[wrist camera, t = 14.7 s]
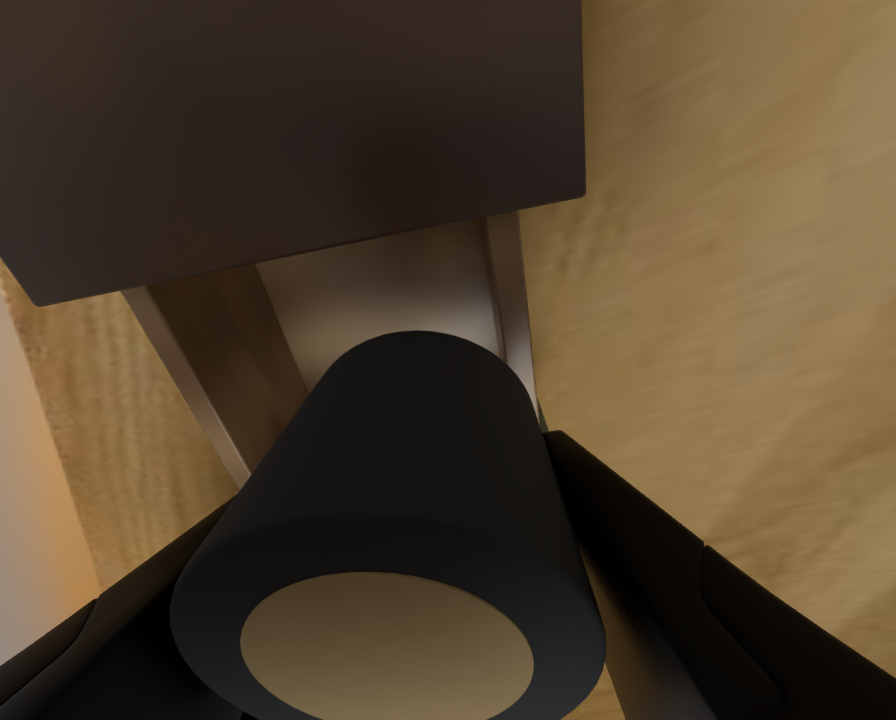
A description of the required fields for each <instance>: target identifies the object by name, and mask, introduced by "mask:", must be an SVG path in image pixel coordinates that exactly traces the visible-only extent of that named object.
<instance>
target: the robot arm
mask: <svg viewBox="0 0 896 720" xmlns="http://www.w3.org/2000/svg"><path fill="white" fill-rule="evenodd" d="M542 434H543V437H544V440H545V443H546V447H547V450H548V453H549V456H550V459H551V462H552V465H553V468H554V471H555V475H556V478H557V481H558V484H559V487H560V490H561V493H562V496H563V499H564V503H565V506H566V509H567V512H568V515H569V518H570V521H571V524H572V527H573V531H574V534H575V537H576V540H577V543H578V546H579V549H580V552H581V555H582V558H583V562H584V565H585V568H586V571H587V574H588V577H589V580H590V583H591V586H592V590H593V593H594V596H595V599H596V602H597V605H598V608H599V611H600V614H601V618H602V621H603V625H604V628H605V632H606V656H605V663H606V666H607V669H608V672H609V675H610V677H611V680H612V683H613V686H614V688H615V691H616V694H617V697H618V699H619V702H620V705H621V708H622V711H623V713H624V716H625V719H626V720H896V678H895V677H893V676H892V675H890V674H889V673H887V672H886V671H884V670H883V669H881V668H880V667H878V666H877V665H875V664H874V663H872V662H871V661H869V660H868V659H866V658H865V657H863V656H862V655H861V654H859V653H858V652H856V651H855V650H853V649H852V648H850V647H849V646H847V645H846V644H844V643H843V642H841V641H840V640H838V639H837V638H835V637H834V636H832V635H831V634H829V633H828V632H826V631H825V630H824V629H822V628H821V627H819V626H818V625H816V624H815V623H813V622H812V621H811V620H809V619H808V618H806V617H805V616H803V615H802V614H801V613H799V612H798V611H796V610H795V609H793V608H792V607H791V606H789V605H788V604H786V603H785V602H783V601H782V600H781V599H779V598H778V597H776V596H775V595H773V594H772V593H771V592H769V591H768V590H767V589H765V588H764V587H763V586H761V585H760V584H759V583H757V582H756V581H755V580H753V579H752V578H751V577H749V576H748V575H747V574H745V573H744V572H743V571H741V570H740V569H739V568H737V567H736V566H735V565H733V564H732V563H731V562H729V561H728V560H727V559H726V558H724V557H723V556H722V555H721V554H719V553H718V552H717V551H715V550H714V549H713V548H712V547H710V546H709V545H705V546H704V542H703V541H702V540H701V539H700V538H699V537H697V536H696V535H695V534H693V533H692V532H691V531H690V530H688V529H687V528H686V527H684V526H683V525H682V524H681V523H679V522H678V521H677V520H676V519H674V518H673V517H672V516H670V515H669V514H668V513H667V512H665V511H664V510H663V509H661V508H660V507H659V506H658V505H656V504H655V503H654V502H653V501H651V500H650V499H649V498H647V497H646V496H645V495H644V494H642V493H641V492H640V491H639V490H637V489H636V488H635V487H633V486H632V485H631V484H630V483H628V482H627V481H626V480H624V479H623V478H622V477H621V476H619V475H618V474H617V473H616V472H614V471H613V470H612V469H610V468H609V467H608V466H607V465H605V464H604V463H603V462H601V461H600V460H599V459H598V458H596V457H595V456H594V455H593V454H591V453H590V452H589V451H587V450H586V449H585V448H584V447H582V446H581V445H580V444H578V443H577V442H576V441H575V440H573V439H572V438H571V437H570V436H568V435H567V434H566V433H564V432H563V431H561V430H556V431H548V432H543V433H542ZM235 497H236V495H235V496H234V497H233V498H231V499H230V500H229V501H227V502H226V503H225V504H223V505H222V506H220V507H219V508H218V509H216V510H215V511H214V512H212V513H211V514H210V515H208V516H207V517H205V518H204V519H203V520H201V521H200V522H199V523H197V524H196V525H195V526H193V527H192V528H190V529H189V530H188V531H186V532H185V533H184V534H182V535H181V536H179V537H178V538H177V539H175V540H174V541H173V542H171V543H170V544H169V545H167V546H166V547H164V548H163V549H162V550H160V551H159V552H158V553H156V554H155V555H154V556H152V557H151V558H149V559H148V560H147V561H145V562H144V563H143V564H141V565H140V566H139V567H137V568H136V569H134V570H133V571H132V572H130V573H129V574H128V575H126V576H125V577H124V578H122V579H121V580H119V581H118V582H117V583H115V584H114V585H113V586H111V587H110V588H109V589H107V590H106V591H104V592H103V593H102V594H100V596H99V597H98V599H94V600H92V601H91V602H89V603H88V604H87V605H85V606H84V607H83V608H81V609H80V610H78V611H77V612H76V613H74V614H73V615H72V616H70V617H69V618H68V619H66V620H65V621H64V622H62V623H61V624H59V625H58V626H56V627H55V628H54V629H52V630H51V631H49V632H48V633H47V634H45V635H44V636H43V637H41V638H40V639H38V640H37V641H35V642H34V643H33V644H31V645H30V646H28V647H27V648H26V649H24V650H23V651H21V652H20V653H18V654H17V655H16V656H14V657H13V658H11V659H10V660H8V661H7V662H5V663H4V664H3V665H1V666H0V720H259V719H257V718H255V717H253V716H251V715H250V714H248V713H246V712H244V711H242V710H240V709H239V708H237V707H236V706H234V705H233V704H231V703H230V702H228V701H227V700H225V699H224V698H222V697H221V696H219V695H218V694H217V693H216V692H215V691H213V690H212V689H211V688H210V687H208V686H207V685H206V684H205V683H204V682H203V681H202V680H201V679H200V678H199V677H198V676H197V675H196V674H195V673H194V672H193V671H192V669H191V668H190V667H189V665H188V664H187V663H186V661H185V660H184V658H183V657H182V655H181V653H180V651H179V649H178V647H177V645H176V643H175V641H174V638H173V634H172V631H171V627H170V611H169V609H170V604H171V600H172V595H173V591H174V587H175V584H176V582H177V580H178V578H179V576H180V574H181V572H182V570H183V569H184V568H185V566H186V565H187V563H188V562H189V561H190V559H191V558H192V556H193V555H194V554H195V552H196V551H197V549H198V548H199V547H200V545H201V544H202V543H203V541H204V540H205V538H206V537H207V536H208V534H209V533H210V531H211V530H212V529H213V527H214V526H215V525H216V523H217V522H218V520H219V519H220V518H221V516H222V515H223V513H224V512H225V511H226V509H227V508H228V506H229V505H230V504H231V502H232V501H233V500H234V498H235Z"/></svg>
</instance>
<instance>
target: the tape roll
mask: <svg viewBox="0 0 896 720" xmlns="http://www.w3.org/2000/svg"><path fill="white" fill-rule="evenodd" d="M169 611H170V627H171V631H172V634H173V638H174V641H175V643H176V645H177V647H178V649H179V651H180V653H181V655H182V657H183V658H184V660H185V661H186V663H187V664H188V665H189V667H190V668H191V669H192V671H193V672H194V673H195V674H196V675H197V676H198V677H199V678H200V679H201V680H202V681H203V682H204V683H205V684H206V685H207V686H208V687H210V688H211V689H212V690H213V691H215V692H216V693H217V694H218V695H219V696H221V697H222V698H224V699H225V700H227V701H228V702H230V703H231V704H233V705H234V706H236V707H237V708H239V709H240V710H242V711H244V712H246V713H248V714H250V715H251V716H253V717H255V718H257V719H259V720H560V719H562V718H563V717H564V716H566V715H567V714H569V713H570V712H571V711H573V710H574V709H575V708H576V707H577V706H578V705H579V704H580V703H581V702H582V701H583V700H584V699H586V698H587V696H588V695H589V694H590V692H591V691H592V689H593V688H594V687H595V685H596V684H597V682H598V679H599V677H600V675H601V673H602V670H603V667H604V661H605V656H606V632H605V628H604V625H603V621H602V618H601V614H600V611H599V608H598V605H597V602H596V599H595V596H594V593H593V590H592V586H591V583H590V580H589V577H588V574H587V571H586V568H585V565H584V562H583V558H582V555H581V552H580V549H579V546H578V543H577V540H576V537H575V534H574V531H573V527H572V524H571V521H570V518H569V515H568V512H567V509H566V506H565V503H564V499H563V496H562V493H561V490H560V487H559V484H558V481H557V478H556V475H555V471H554V468H553V465H552V462H551V459H550V456H549V453H548V450H547V447H546V443H545V440H544V437H543V434H542V431H541V428H540V425H539V422H538V419H537V416H536V412H535V409H534V406H533V403H532V400H531V398H530V396H529V394H528V391H527V389H526V387H525V386H524V384H523V383H522V381H521V380H520V378H519V377H518V376H517V374H516V373H515V372H514V371H513V370H512V369H511V368H510V367H509V366H508V365H507V364H506V363H505V362H504V361H502V360H501V359H500V358H499V357H498V356H496V355H495V354H494V353H492V352H490V351H489V350H487V349H485V348H484V347H482V346H480V345H478V344H476V343H474V342H471V341H469V340H467V339H464V338H461V337H458V336H454V335H451V334H446V333H441V332H435V331H421V330H413V331H399V332H394V333H389V334H384V335H381V336H378V337H375V338H371V339H368V340H366V341H364V342H362V343H360V344H358V345H356V346H354V347H353V348H351V349H350V350H348V351H347V352H345V353H344V354H342V355H341V356H340V357H339V358H338V359H337V360H336V361H335V362H334V363H333V364H332V365H331V366H330V367H329V368H328V370H327V371H326V372H325V373H324V375H323V376H322V377H321V379H320V380H319V382H318V383H317V384H316V386H315V387H314V389H313V390H312V391H311V393H310V394H309V396H308V397H307V398H306V400H305V401H304V402H303V404H302V405H301V407H300V408H299V409H298V411H297V412H296V414H295V415H294V416H293V418H292V419H291V420H290V422H289V423H288V425H287V426H286V427H285V429H284V430H283V432H282V433H281V434H280V436H279V437H278V439H277V440H276V441H275V443H274V444H273V445H272V447H271V448H270V450H269V451H268V452H267V454H266V455H265V457H264V458H263V459H262V461H261V462H260V463H259V465H258V466H257V468H256V469H255V470H254V472H253V473H252V475H251V476H250V477H249V479H248V480H247V482H246V483H245V484H244V486H243V487H242V488H241V490H240V491H239V493H238V494H237V495H236V497H235V498H234V500H233V501H232V502H231V504H230V505H229V506H228V508H227V509H226V511H225V512H224V513H223V515H222V516H221V518H220V519H219V520H218V522H217V523H216V525H215V526H214V527H213V529H212V530H211V531H210V533H209V534H208V536H207V537H206V538H205V540H204V541H203V543H202V544H201V545H200V547H199V548H198V549H197V551H196V552H195V554H194V555H193V556H192V558H191V559H190V561H189V562H188V563H187V565H186V566H185V568H184V569H183V570H182V572H181V574H180V576H179V578H178V580H177V582H176V584H175V587H174V591H173V595H172V600H171V604H170V609H169Z"/></svg>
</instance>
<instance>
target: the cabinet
mask: <svg viewBox="0 0 896 720" xmlns="http://www.w3.org/2000/svg"><path fill="white" fill-rule="evenodd" d="M585 193H586V168H585V129H584V90H583V52H582V13H581V0H0V257H1V259H2V260H3V261H4V263H5V264H6V266H7V267H8V269H9V270H10V271H11V273H12V274H13V276H14V277H15V278H16V280H17V281H18V283H19V284H20V285H21V287H22V288H23V290H24V291H25V292H26V294H27V295H28V297H29V298H30V299H31V301H32V302H33V304H34V305H36V306H41V307H42V306H47V305H52V304H57V303H62V302H67V301H72V300H77V299H82V298H86V297H91V296H96V295H101V294H106V293H111V292H116V291H121V290H126V289H131V288H136V287H141V286H146V285H151V284H156V283H161V282H166V281H171V280H176V279H181V278H185V277H190V276H195V275H200V274H205V273H210V272H215V271H220V270H225V269H230V268H235V267H240V266H245V265H250V264H255V263H260V262H265V261H270V260H275V259H280V258H284V257H289V256H294V255H299V254H304V253H309V252H314V251H319V250H324V249H329V248H334V247H339V246H344V245H349V244H354V243H359V242H364V241H369V240H374V239H379V238H383V237H388V236H393V235H398V234H403V233H408V232H413V231H418V230H423V229H428V228H433V227H438V226H443V225H448V224H453V223H458V222H463V221H468V220H473V219H477V218H482V217H487V216H492V215H497V214H502V213H507V212H512V211H517V210H522V209H527V208H532V207H537V206H542V205H547V204H552V203H557V202H562V201H567V200H572V199H576V198H581V197H583V196H585Z"/></svg>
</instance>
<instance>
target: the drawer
mask: <svg viewBox="0 0 896 720" xmlns="http://www.w3.org/2000/svg"><path fill="white" fill-rule="evenodd" d="M121 293H122V294H123V296H124V298H125V299H126V301H127V303H128V304H129V306H130V308H131V309H132V311H133V313H134V314H135V316H136V318H137V319H138V321H139V323H140V324H141V326H142V328H143V330H144V331H145V333H146V335H147V336H148V338H149V340H150V341H151V343H152V345H153V346H154V348H155V350H156V351H157V353H158V355H159V356H160V358H161V360H162V361H163V363H164V365H165V366H166V368H167V370H168V372H169V373H170V375H171V377H172V378H173V380H174V382H175V383H176V385H177V387H178V388H179V390H180V392H181V393H182V395H183V397H184V398H185V400H186V402H187V403H188V405H189V407H190V408H191V410H192V412H193V414H194V415H195V417H196V419H197V420H198V422H199V424H200V425H201V427H202V429H203V430H204V432H205V434H206V435H207V437H208V439H209V440H210V442H211V444H212V445H213V447H214V449H215V450H216V452H217V454H218V456H219V457H220V459H221V461H222V462H223V464H224V466H225V467H226V469H227V471H228V472H229V474H230V476H231V477H232V479H233V481H234V482H235V484H236V486H237V487H238V489H239V490H241V488H242V487H243V486H244V484H245V483H246V482H247V480H248V479H249V477H250V476H251V475H252V473H253V472H254V470H255V469H256V468H257V466H258V465H259V463H260V462H261V461H262V459H263V458H264V457H265V455H266V454H267V452H268V451H269V450H270V448H271V447H272V445H273V444H274V443H275V441H276V440H277V439H278V437H279V436H280V434H281V433H282V432H283V430H284V429H285V427H286V426H287V425H288V423H289V422H290V420H291V419H292V418H293V416H294V415H295V414H296V412H297V411H298V409H299V408H300V407H301V405H302V404H303V402H304V401H305V400H306V398H307V397H308V396H309V394H310V393H311V391H312V390H313V389H314V387H315V386H316V384H317V383H318V382H319V380H320V379H321V377H322V376H323V375H324V373H325V372H326V371H327V370H328V368H329V367H330V366H331V365H332V364H333V363H334V362H335V361H336V360H337V359H338V358H339V357H340V356H341V355H342V354H344V353H345V352H347V351H348V350H350V349H351V348H353V347H354V346H356V345H358V344H360V343H362V342H364V341H366V340H368V339H371V338H375V337H378V336H381V335H384V334H389V333H394V332H399V331H413V330H421V331H435V332H441V333H446V334H451V335H454V336H458V337H461V338H464V339H467V340H469V341H471V342H474V343H476V344H478V345H480V346H482V347H484V348H485V349H487V350H489V351H490V352H492V353H494V354H495V355H496V356H498V357H499V358H500V359H501V360H502V361H504V362H505V363H506V364H507V365H508V366H509V367H510V368H511V369H512V370H513V371H514V372H515V373H516V374H517V376H518V377H519V378H520V380H521V381H522V383H523V384H524V386H525V387H526V389H527V391H528V394H529V396H530V398H531V400H532V403H533V406H534V409H535V412H536V416H537V419H538V422H539V425H540V428H541V431H542V433H543V432H548V431H549V430H548V427H547V424H546V421H545V418H544V415H543V413H542V410H541V407H540V404H539V401H538V398H537V391H536V381H535V372H534V362H533V352H532V342H531V332H530V323H529V313H528V303H527V293H526V283H525V273H524V264H523V254H522V244H521V234H520V224H519V214H518V210H517V211H512V212H507V213H502V214H497V215H492V216H487V217H482V218H477V219H473V220H468V221H463V222H458V223H453V224H448V225H443V226H438V227H433V228H428V229H423V230H418V231H413V232H408V233H403V234H398V235H393V236H388V237H383V238H379V239H374V240H369V241H364V242H359V243H354V244H349V245H344V246H339V247H334V248H329V249H324V250H319V251H314V252H309V253H304V254H299V255H294V256H289V257H284V258H280V259H275V260H270V261H265V262H260V263H255V264H250V265H245V266H240V267H235V268H230V269H225V270H220V271H215V272H210V273H205V274H200V275H195V276H190V277H185V278H181V279H176V280H171V281H166V282H161V283H156V284H151V285H146V286H141V287H136V288H131V289H126V290H121Z"/></svg>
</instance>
